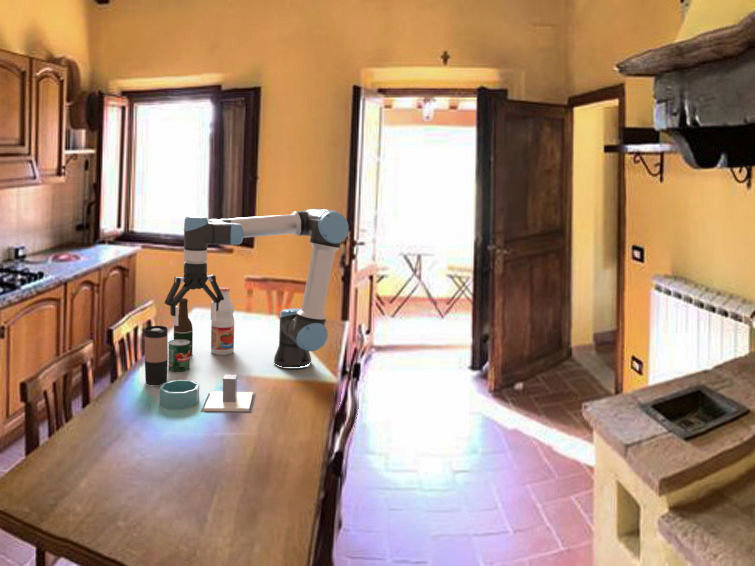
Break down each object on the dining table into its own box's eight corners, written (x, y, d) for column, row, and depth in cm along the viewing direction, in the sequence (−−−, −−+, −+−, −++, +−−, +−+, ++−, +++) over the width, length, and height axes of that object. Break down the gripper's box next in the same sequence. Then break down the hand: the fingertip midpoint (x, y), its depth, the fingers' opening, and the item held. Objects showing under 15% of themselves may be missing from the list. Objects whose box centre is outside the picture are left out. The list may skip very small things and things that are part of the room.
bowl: (201, 397, 191) (201, 380, 190) (194, 410, 180) (194, 393, 179) (165, 396, 190) (165, 379, 189) (156, 410, 178) (156, 392, 177)
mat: (256, 395, 196) (256, 393, 196) (251, 414, 180) (251, 412, 180) (208, 394, 194) (208, 393, 194) (200, 413, 178) (200, 412, 178)
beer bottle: (189, 359, 229) (189, 301, 224) (170, 357, 229) (170, 300, 224) (195, 353, 236) (196, 297, 232) (177, 352, 236) (177, 296, 232)
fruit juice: (219, 347, 246) (220, 284, 241) (238, 351, 243) (239, 287, 238) (206, 353, 238) (207, 288, 233) (224, 356, 234) (226, 291, 229)
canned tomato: (183, 374, 212) (183, 346, 210) (164, 371, 213) (164, 343, 211) (193, 367, 219) (194, 340, 217) (175, 365, 221) (175, 338, 219)
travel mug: (148, 378, 205) (148, 325, 202) (170, 378, 206) (170, 326, 202) (141, 385, 198) (141, 330, 194) (164, 386, 198) (164, 331, 195)
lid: (252, 394, 195) (253, 370, 193) (249, 411, 181) (249, 384, 180) (211, 394, 193) (211, 369, 191) (204, 410, 179) (204, 384, 178)
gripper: (224, 258, 202) (223, 316, 206) (154, 261, 185) (154, 324, 189) (234, 262, 196) (233, 320, 200) (163, 265, 180) (163, 329, 184)
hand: (194, 322), depth 195 cm, fingers open, 13 cm apart
